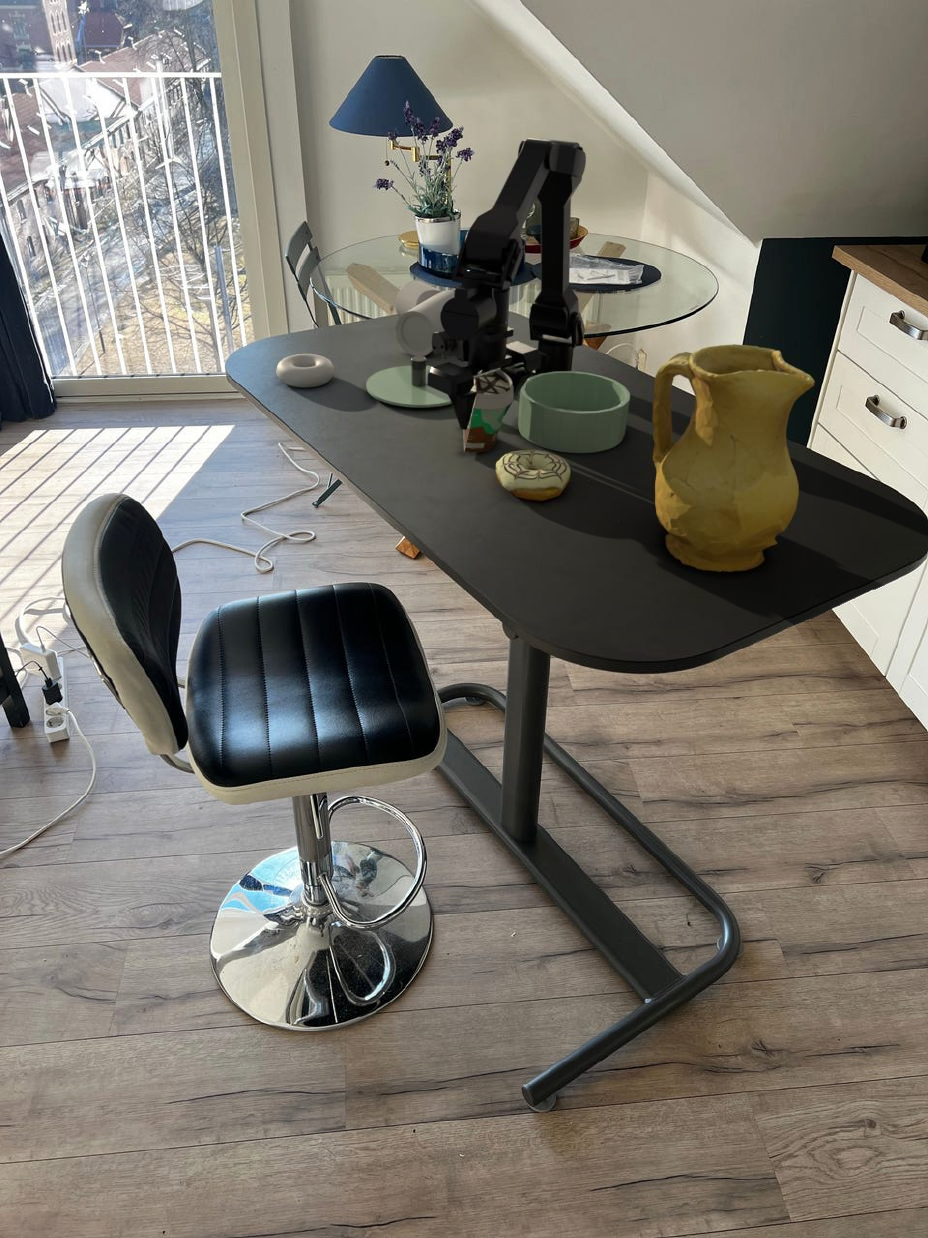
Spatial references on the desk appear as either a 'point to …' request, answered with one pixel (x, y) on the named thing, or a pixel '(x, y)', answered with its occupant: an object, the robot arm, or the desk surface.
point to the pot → (573, 411)
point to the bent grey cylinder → (419, 316)
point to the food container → (488, 410)
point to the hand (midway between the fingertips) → (483, 421)
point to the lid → (406, 386)
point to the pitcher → (726, 455)
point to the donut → (305, 370)
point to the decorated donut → (533, 474)
